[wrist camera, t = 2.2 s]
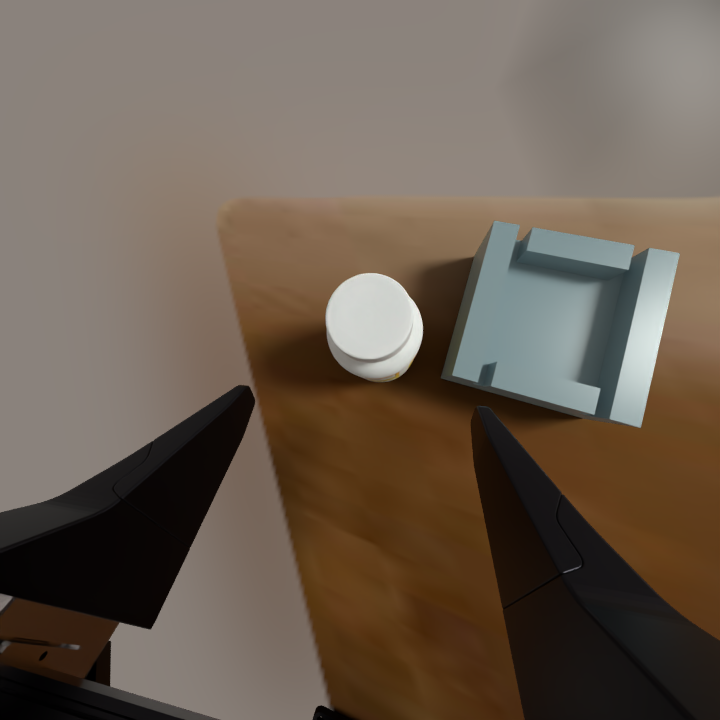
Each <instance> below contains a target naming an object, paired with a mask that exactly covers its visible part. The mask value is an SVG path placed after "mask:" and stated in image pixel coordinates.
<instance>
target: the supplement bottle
mask: <svg viewBox="0 0 720 720" xmlns="http://www.w3.org/2000/svg"><path fill="white" fill-rule="evenodd" d="M326 327H327V340H328V344H329V347H330V350H331V352H332V354H333V356H334V358H335V359H336V360H337V361H338V363H339V364H340V365H341V366H342V367H343V368H345V369H346V370H347V371H349V372H351V373H352V374H354V375H357V376H359V377H361V378H364V379H367V380H369V381H373V382H388V381H392V380H394V379H396V378H398V377H400V376H401V375H403V374H404V373H405V372H406V371H407V369H408V368H409V367H410V365H411V364H412V362H413V360H414V358H415V356H416V354H417V352H418V350H419V348H420V345H421V341H422V336H423V324H422V318H421V315H420V312H419V310H418V308H417V306H416V304H415V303H414V301H413V300H412V299H411V298H410V297H409V295H408V294H407V292H406V291H405V289H404V288H403V287H402V286H401V285H400V284H399V283H398V282H396V281H395V280H394V279H392V278H389V277H387V276H385V275H381V274H376V273H366V274H360V275H356V276H354V277H352V278H350V279H348V280H346V281H345V282H343V283H342V284H341V285H340V286H339V287H338V288H337V289H336V290H335V291H334V293H333V294H332V296H331V298H330V300H329V302H328V305H327V309H326Z"/></svg>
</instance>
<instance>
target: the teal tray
mask: <svg viewBox="0 0 720 720" xmlns="http://www.w3.org/2000/svg"><path fill="white" fill-rule="evenodd" d="M519 226H520V225H516V224H510V223H505V222H499V221H494V222H493V224H492V226H491V228H490V229H489V231H488V233H487V235H486V236H485V238H484V240H483V242H482V243H481V245H480V247H479V249H478V251H477V252H476V254H475V256H474V259H473V263H472V266H471V270H470V274H469V277H468V281H467V284H466V288H465V292H464V295H463V299H462V303H461V306H460V310H459V313H458V317H457V321H456V324H455V328H454V331H453V335H452V339H451V342H450V346H449V350H448V353H447V357H446V360H445V364H444V368H443V371H442V375H441V379H445V380H448V381H452V382H456V383H459V384H463V385H466V386H470V387H473V388H477V389H480V390H484V391H487V392H491V393H495V394H498V395H502V396H505V397H509V398H512V399H516V400H519V401H523V402H526V403H530V404H533V405H537V406H541V407H544V408H548V409H551V410H555V411H558V412H562V413H565V414H569V415H572V416H576V417H580V418H583V419H589V420H595V421H602V422H608V423H614V424H620V425H627V426H633V427H639V428H641V424H642V419H643V415H644V410H645V406H646V402H647V397H648V393H649V388H650V384H651V379H652V375H653V370H654V366H655V361H656V357H657V353H658V348H659V344H660V339H661V335H662V330H663V326H664V321H665V317H666V312H667V308H668V304H669V299H670V295H671V290H672V286H673V281H674V277H675V272H676V268H677V263H678V259H679V255H680V253H675V252H670V251H664V250H658V249H653V248H648V249H647V250H645V251H643V252H641V253H639V254H638V255H636V256H634V257H632V254H633V249H634V245H630V244H624V243H618V242H613V241H607V240H601V239H596V238H590V237H584V236H579V235H573V234H567V233H562V232H556V231H550V230H545V229H539V228H532V229H531V230H530V231H529V233H528V234H527V235H526V236H525V237H524V239H523V240H522V241H519V240H516V237H517V234H518V230H519Z"/></svg>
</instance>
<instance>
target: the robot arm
mask: <svg viewBox="0 0 720 720" xmlns="http://www.w3.org/2000/svg"><path fill="white" fill-rule="evenodd" d="M254 405H255V398H254V396H253V393H252V391H251V389H250V387H249V386H244V385H238V386H236V387H235V388H233V389H232V390H230V391H229V392H227V393H226V394H224V395H222V396H221V397H219V398H218V399H216V400H215V401H213V402H212V403H210V404H209V405H207V406H206V407H204V408H203V409H201V410H199V411H198V412H196V413H195V414H193V415H192V416H191V417H189V418H187V419H186V420H184V421H183V422H181V423H180V424H178V425H176V426H175V427H174V428H172V429H170V430H169V431H167V432H166V433H164V434H163V435H161V436H159V437H158V438H157V439H155V440H154V441H152V442H150V443H149V444H147V445H146V446H144V447H142V448H141V449H139V450H138V451H136V452H135V453H133V454H132V455H130V456H128V457H127V458H125V459H123V460H122V461H120V462H118V463H116V464H115V465H113V466H111V467H110V468H108V469H106V470H105V471H103V472H101V473H99V474H97V475H96V476H94V477H92V478H91V479H89V480H87V481H85V482H84V483H82V484H80V485H78V486H77V487H75V488H73V489H71V490H70V491H68V492H66V493H64V494H62V495H60V496H58V497H55V498H53V499H50V500H47V501H44V502H41V503H37V504H34V505H30V506H25V507H21V508H17V509H13V510H9V511H5V512H1V513H0V720H219V719H215V718H212V717H209V716H205V715H202V714H199V713H195V712H192V711H189V710H186V709H182V708H179V707H176V706H172V705H169V704H166V703H162V702H159V701H156V700H153V699H149V698H146V697H143V696H139V695H136V694H133V693H129V692H126V691H122V690H119V689H116V688H113V687H110V658H111V657H110V656H111V654H110V653H111V641H108V640H109V639H110V637H111V636H112V634H113V632H114V631H115V629H116V627H117V626H118V624H119V623H120V622H121V623H125V624H129V625H133V626H137V627H141V628H146V629H151V628H152V626H153V624H154V623H155V621H156V619H157V617H158V614H159V612H160V610H161V608H162V606H163V604H164V602H165V600H166V598H167V596H168V593H169V591H170V589H171V587H172V585H173V583H174V581H175V579H176V577H177V575H178V573H179V571H180V568H181V566H182V564H183V562H184V560H185V558H186V556H187V554H188V552H189V550H190V547H191V545H192V543H193V541H194V539H195V537H196V535H197V533H198V530H199V528H200V526H201V524H202V522H203V520H204V518H205V516H206V514H207V512H208V510H209V507H210V505H211V503H212V501H213V499H214V497H215V495H216V493H217V490H218V488H219V486H220V484H221V482H222V480H223V478H224V476H225V474H226V472H227V470H228V467H229V466H230V463H231V461H232V459H233V457H234V455H235V453H236V451H237V449H238V447H239V445H240V443H241V440H242V438H243V436H244V433H245V430H246V427H247V425H248V422H249V419H250V416H251V413H252V411H253V407H254ZM471 435H472V448H473V460H474V468H475V473H476V478H477V483H478V488H479V493H480V498H481V503H482V508H483V513H484V518H485V523H486V528H487V533H488V538H489V543H490V548H491V553H492V558H493V563H494V568H495V573H496V578H497V583H498V588H499V593H500V598H501V603H502V608H503V609H504V610H503V614H504V619H505V624H506V629H507V634H508V639H509V644H510V649H511V654H512V659H513V664H514V669H515V674H516V679H517V684H518V689H519V694H520V699H521V704H522V709H523V713H524V718H525V720H720V641H719V640H718V639H716V638H715V637H713V636H712V635H710V634H709V633H707V632H705V631H704V630H702V629H701V628H699V627H698V626H696V625H695V624H693V623H692V622H691V621H689V620H688V619H687V618H685V617H684V616H682V615H681V614H680V613H679V612H678V611H676V610H675V609H674V608H673V607H671V606H670V605H669V604H668V603H667V602H666V601H665V600H664V599H662V598H661V597H660V596H659V595H658V594H657V593H656V592H655V591H654V590H653V589H652V588H651V587H650V586H649V585H648V584H647V583H646V582H645V581H644V580H643V579H642V578H641V577H640V576H639V575H638V574H637V573H636V572H635V571H634V570H633V569H632V567H631V566H630V565H629V564H628V563H627V562H626V561H625V560H624V559H623V558H622V557H621V556H620V555H619V554H618V553H617V552H616V551H615V550H614V549H613V548H612V547H611V546H610V545H609V544H608V543H607V542H606V541H605V540H604V539H603V538H602V537H601V536H600V535H599V534H598V533H597V532H596V531H595V529H594V528H593V527H592V526H591V525H590V524H589V523H588V522H587V521H586V520H585V519H584V518H583V516H582V515H581V514H580V513H579V512H578V511H577V510H576V509H575V507H574V506H573V505H572V504H571V503H570V502H569V500H568V499H567V498H566V497H565V496H564V495H563V494H562V493H561V491H560V490H559V489H558V488H557V486H556V485H555V484H554V483H553V482H552V481H551V479H550V478H549V477H548V476H547V475H546V474H545V472H544V471H543V470H542V469H541V468H540V466H539V465H538V464H537V463H536V462H535V461H534V459H533V458H532V457H531V456H530V455H529V454H528V452H527V451H526V450H525V449H524V448H523V447H522V445H521V444H520V443H519V442H518V441H517V439H516V438H515V437H514V436H513V435H512V434H511V432H510V431H509V430H508V429H507V428H506V427H505V425H504V424H503V423H502V422H501V421H500V420H499V418H498V417H497V416H496V415H495V414H494V412H493V411H492V410H491V409H490V408H489V407H485V406H477V407H476V408H475V411H474V413H473V416H472V419H471ZM561 494H562V495H561ZM320 716H321V717H322V718H321V717H320ZM313 720H349V719H347V718H345V717H343V716H341V715H340V714H338V713H336V712H334V711H332V710H330V709H328V708H326V707H324V706H318V707H317V708H316V710H315V713H314V717H313Z"/></svg>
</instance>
